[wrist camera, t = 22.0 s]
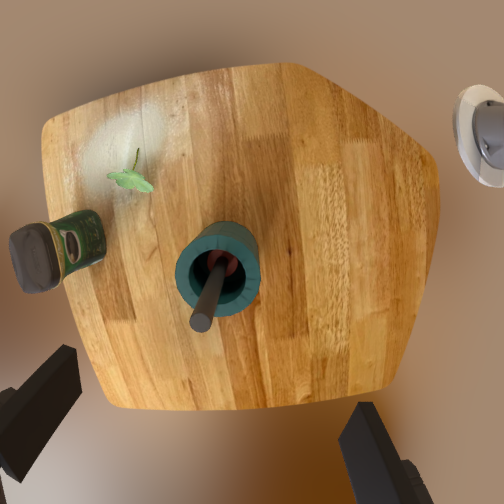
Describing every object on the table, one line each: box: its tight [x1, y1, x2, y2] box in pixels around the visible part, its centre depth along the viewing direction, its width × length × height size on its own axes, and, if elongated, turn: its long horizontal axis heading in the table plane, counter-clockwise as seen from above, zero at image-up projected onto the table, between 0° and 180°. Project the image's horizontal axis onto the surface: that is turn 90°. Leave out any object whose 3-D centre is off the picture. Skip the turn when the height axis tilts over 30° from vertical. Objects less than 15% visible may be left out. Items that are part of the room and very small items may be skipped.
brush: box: [189, 249, 239, 333], centre depth 35 cm, size 4×4×24 cm
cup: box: [175, 221, 261, 317], centre depth 41 cm, size 10×10×13 cm
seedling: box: [107, 148, 154, 193], centre depth 43 cm, size 7×8×6 cm
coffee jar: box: [9, 210, 106, 294], centre depth 38 cm, size 10×8×19 cm
